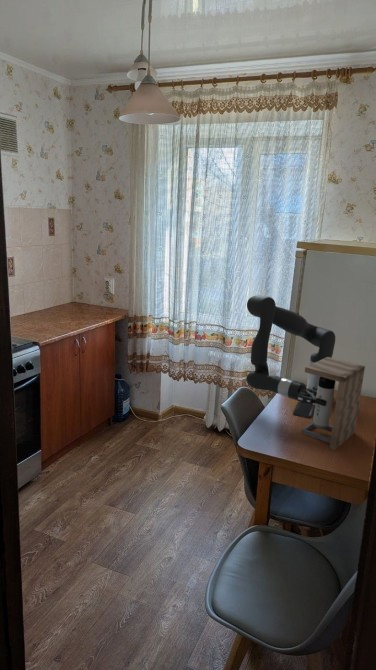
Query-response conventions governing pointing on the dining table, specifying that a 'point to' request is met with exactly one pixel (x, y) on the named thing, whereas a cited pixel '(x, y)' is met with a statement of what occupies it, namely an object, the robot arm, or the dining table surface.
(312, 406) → the phone
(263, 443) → the dining table surface
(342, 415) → the overhang shelf
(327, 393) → the travel mug
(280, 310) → the robot arm
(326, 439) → the seat frame
